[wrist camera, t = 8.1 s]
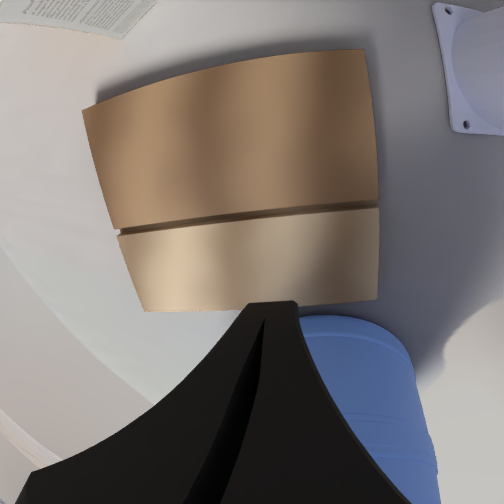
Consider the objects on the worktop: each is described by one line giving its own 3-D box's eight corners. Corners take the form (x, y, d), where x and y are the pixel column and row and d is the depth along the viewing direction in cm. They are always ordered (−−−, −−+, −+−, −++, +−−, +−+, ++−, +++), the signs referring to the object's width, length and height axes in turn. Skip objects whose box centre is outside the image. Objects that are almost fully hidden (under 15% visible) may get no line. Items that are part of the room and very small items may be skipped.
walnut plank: (359, 52, 13) (363, 49, 12) (373, 192, 16) (378, 199, 15) (92, 108, 16) (81, 110, 15) (122, 222, 20) (114, 229, 19)
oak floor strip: (374, 195, 17) (378, 202, 16) (373, 289, 19) (377, 299, 18) (123, 224, 20) (114, 231, 19) (150, 302, 22) (144, 311, 21)
